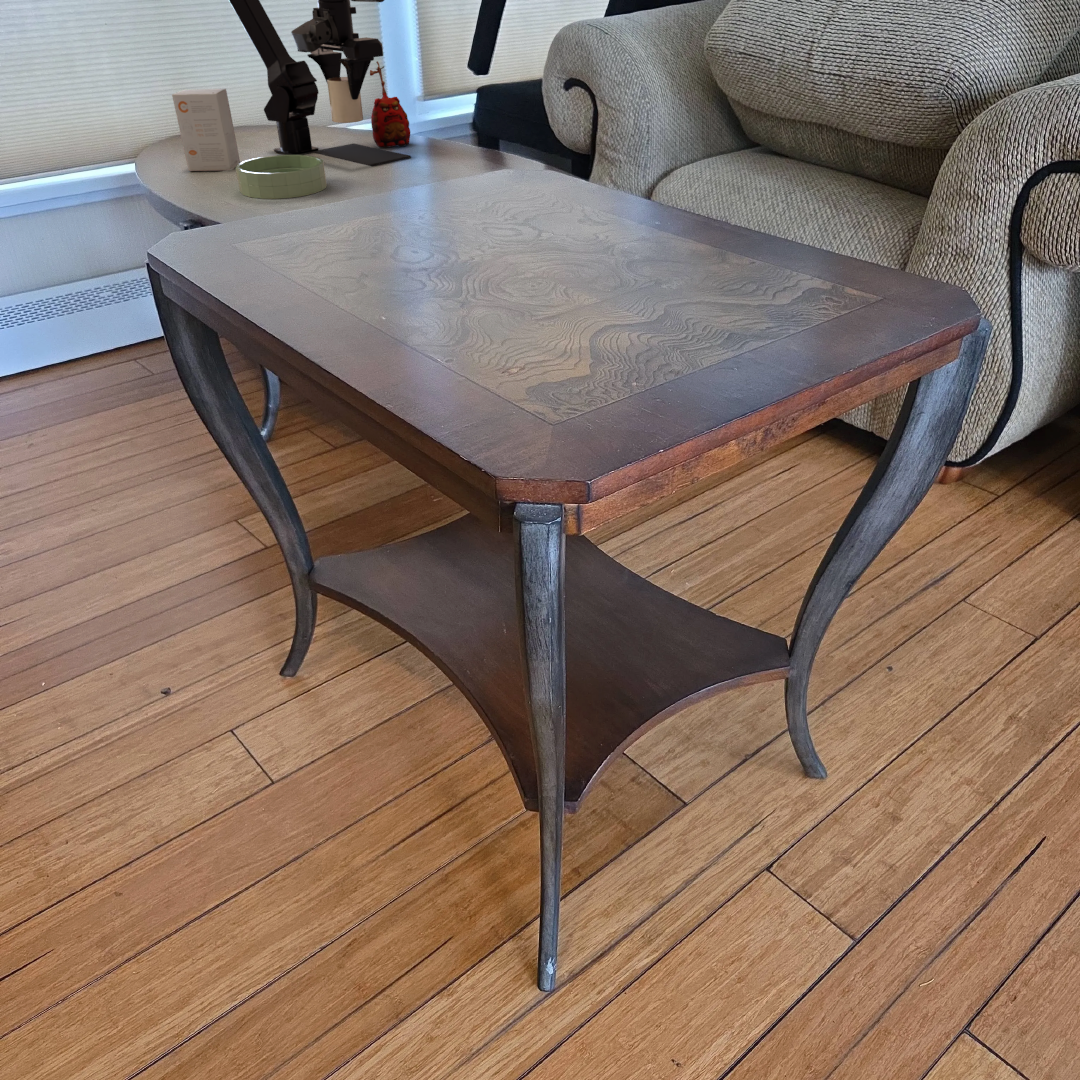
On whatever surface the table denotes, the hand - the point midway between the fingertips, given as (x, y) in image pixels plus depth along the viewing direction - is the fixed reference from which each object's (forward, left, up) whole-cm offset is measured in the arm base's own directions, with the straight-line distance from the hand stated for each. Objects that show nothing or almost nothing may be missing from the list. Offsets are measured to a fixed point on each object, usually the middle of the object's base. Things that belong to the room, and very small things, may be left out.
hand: (344, 97), depth 174 cm
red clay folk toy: (-3, +12, -11) cm, 17 cm away
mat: (0, 0, -11) cm, 11 cm away
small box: (-13, -22, -11) cm, 28 cm away
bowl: (+13, -24, -11) cm, 29 cm away
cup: (0, 0, -4) cm, 4 cm away
